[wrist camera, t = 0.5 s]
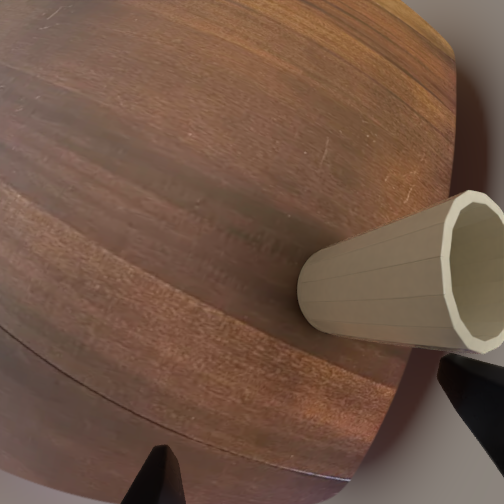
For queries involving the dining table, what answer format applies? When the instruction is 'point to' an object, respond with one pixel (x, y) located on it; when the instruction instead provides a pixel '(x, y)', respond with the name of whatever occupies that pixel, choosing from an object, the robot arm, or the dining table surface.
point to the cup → (415, 280)
